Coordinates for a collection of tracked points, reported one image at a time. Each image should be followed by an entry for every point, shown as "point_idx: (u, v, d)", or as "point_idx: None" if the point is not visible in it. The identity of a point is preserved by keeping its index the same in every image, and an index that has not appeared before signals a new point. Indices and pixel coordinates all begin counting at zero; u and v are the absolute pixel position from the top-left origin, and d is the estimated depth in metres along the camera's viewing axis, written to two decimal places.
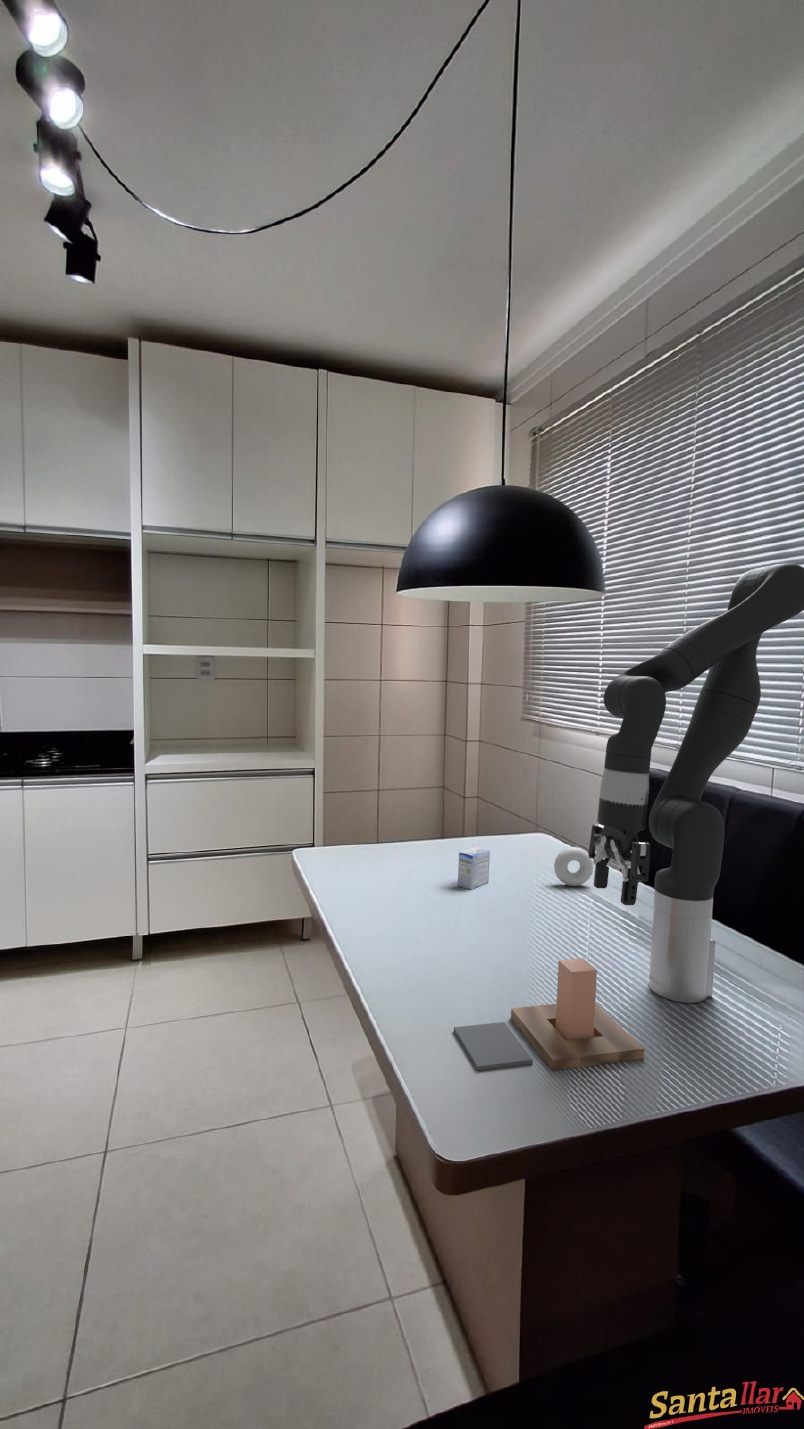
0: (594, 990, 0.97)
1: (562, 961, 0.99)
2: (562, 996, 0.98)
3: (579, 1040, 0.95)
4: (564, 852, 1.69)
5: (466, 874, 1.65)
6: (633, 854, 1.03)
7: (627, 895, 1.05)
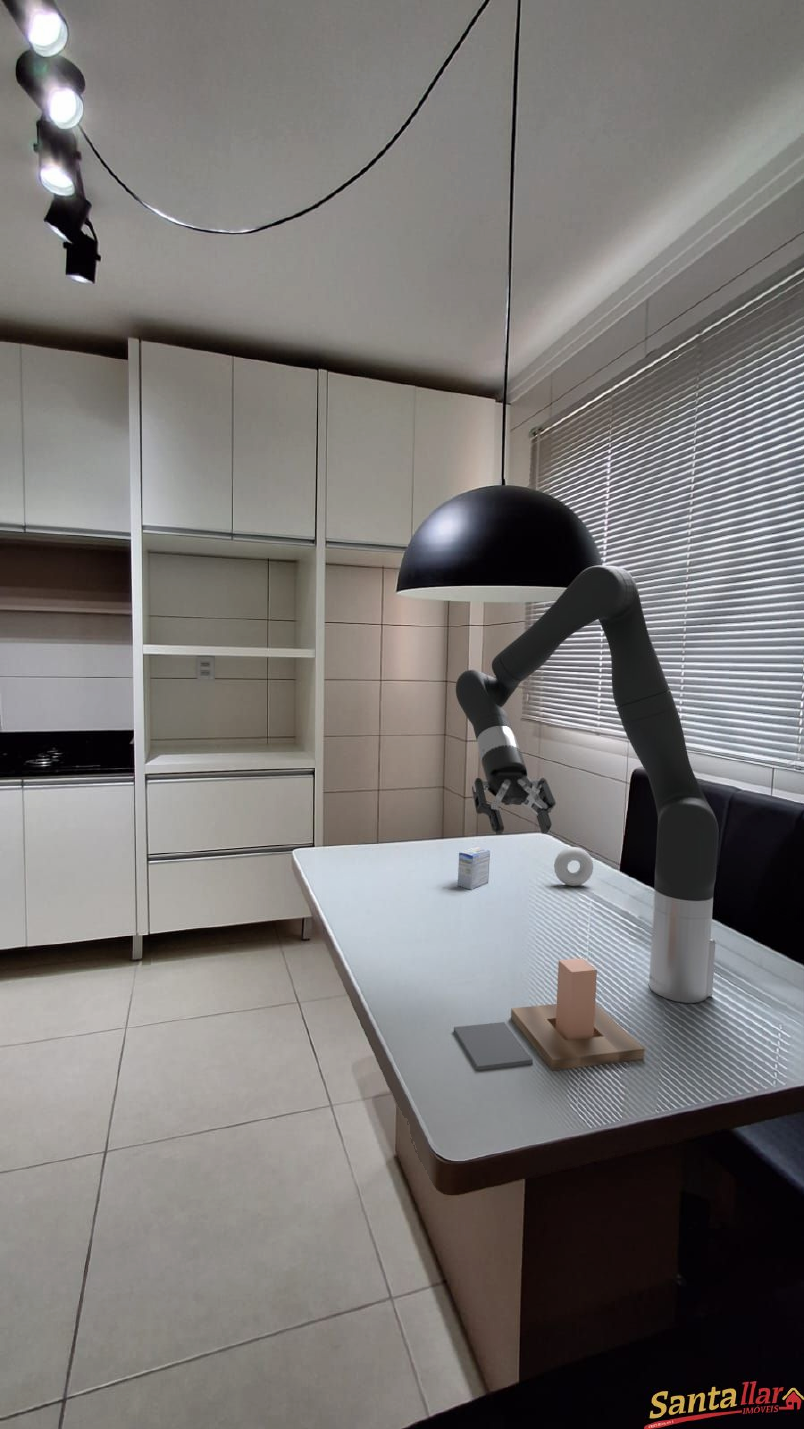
0: (594, 990, 0.97)
1: (562, 961, 0.99)
2: (562, 996, 0.98)
3: (579, 1040, 0.95)
4: (564, 852, 1.69)
5: (466, 874, 1.65)
6: None
7: None
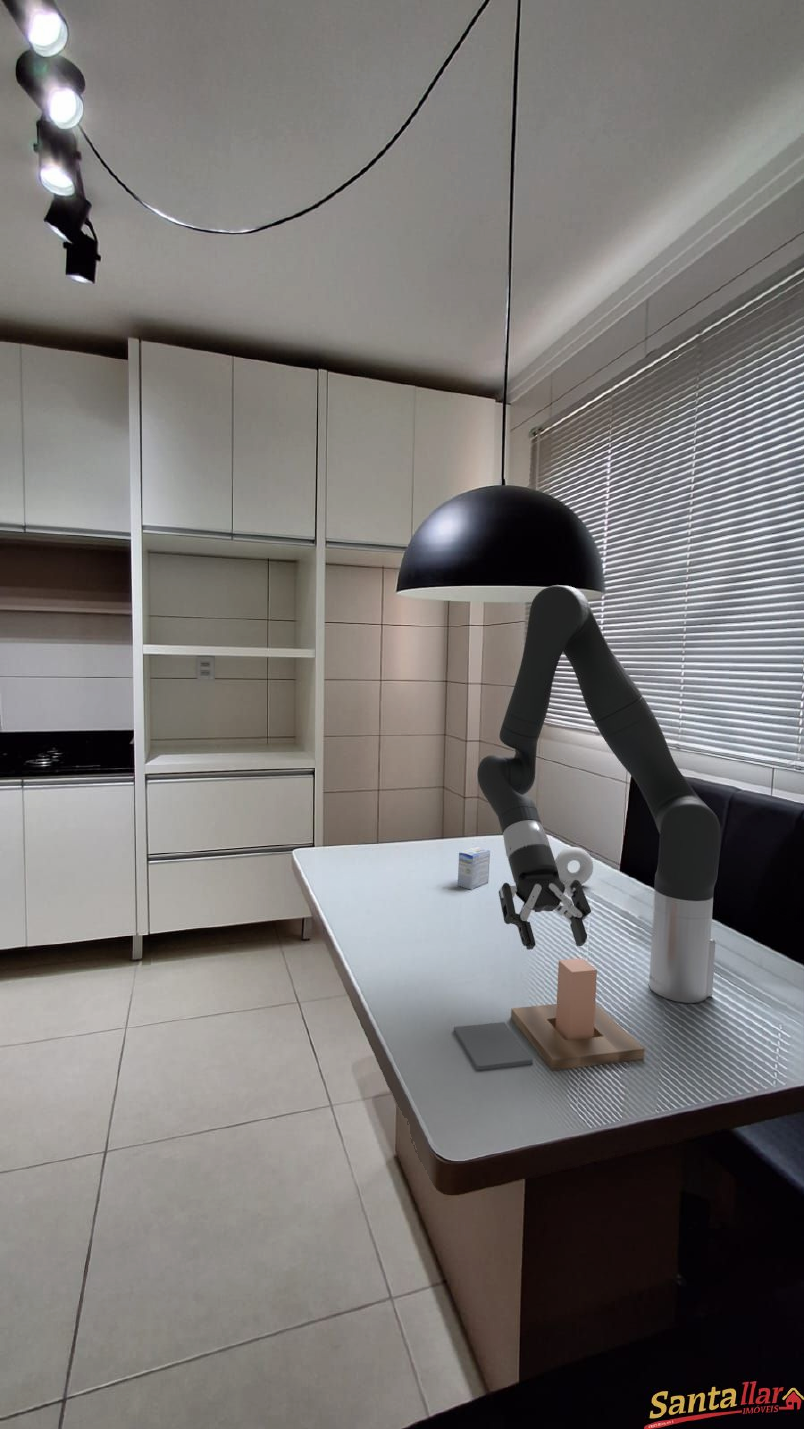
0: (594, 990, 0.97)
1: (562, 961, 0.99)
2: (562, 996, 0.98)
3: (579, 1040, 0.95)
4: (564, 852, 1.69)
5: (466, 874, 1.65)
6: None
7: None
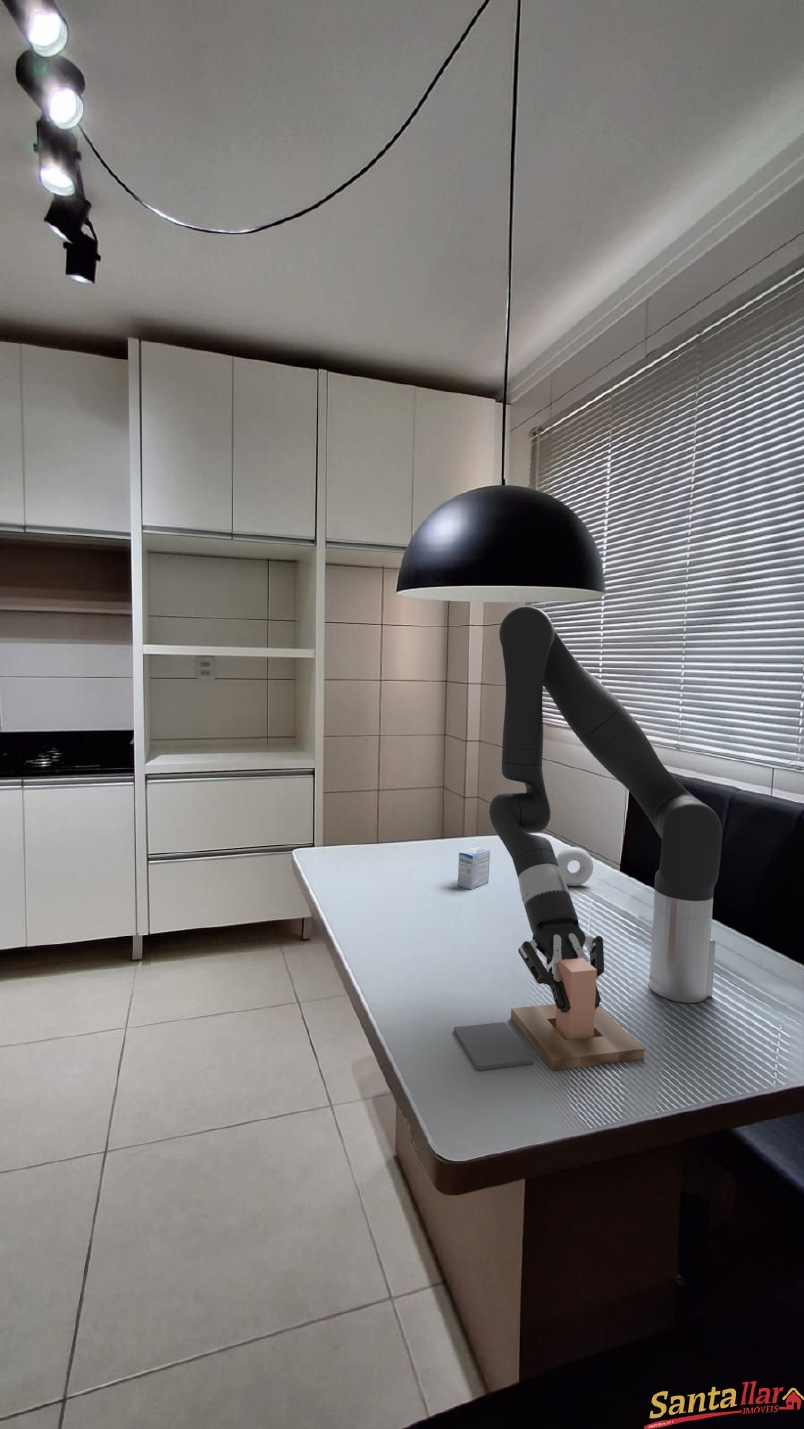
0: (594, 990, 0.97)
1: (562, 961, 0.99)
2: None
3: (579, 1040, 0.95)
4: (564, 852, 1.69)
5: (466, 874, 1.65)
6: None
7: None
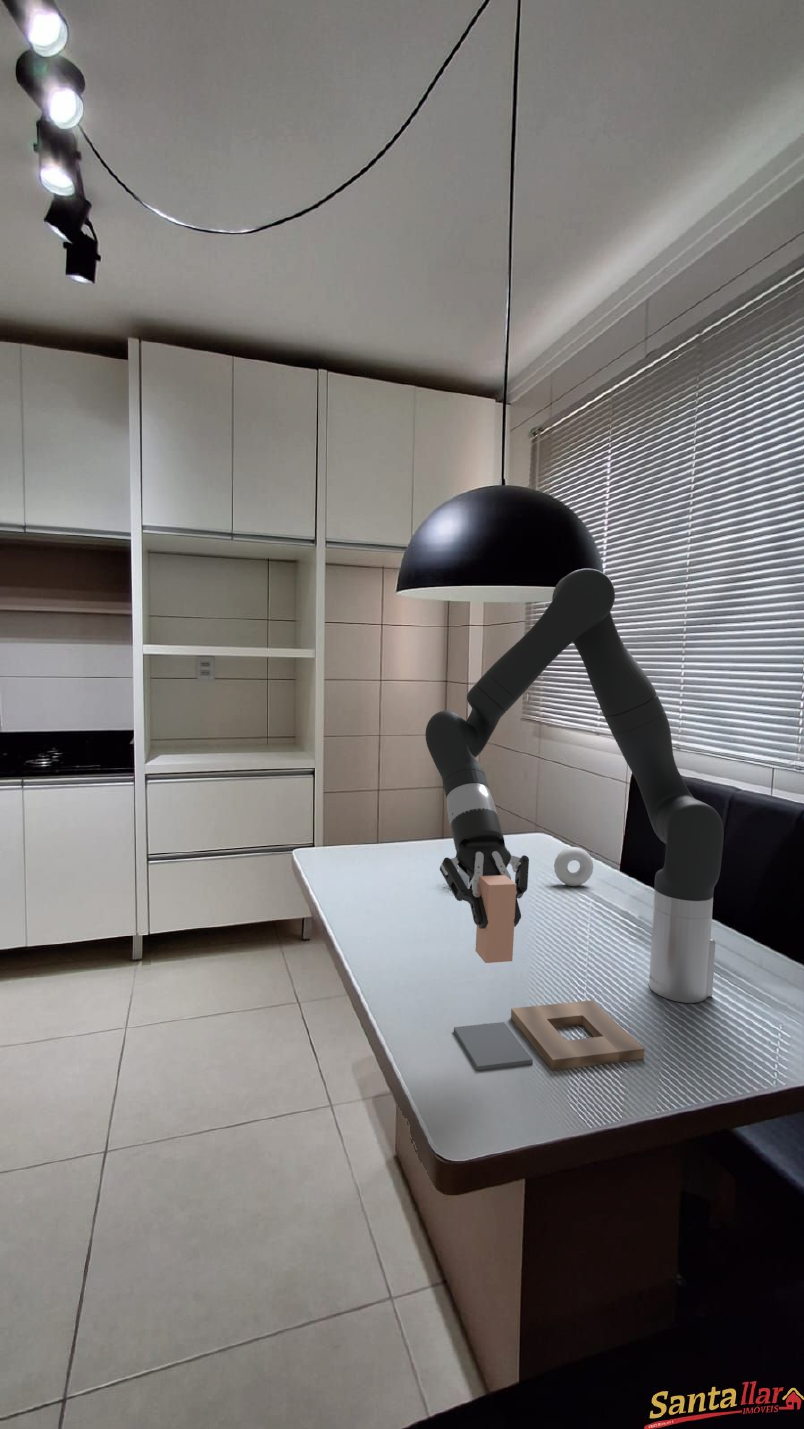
0: (513, 905, 0.93)
1: (482, 877, 0.95)
2: None
3: (579, 1040, 0.95)
4: (564, 852, 1.68)
5: (466, 874, 1.65)
6: None
7: None
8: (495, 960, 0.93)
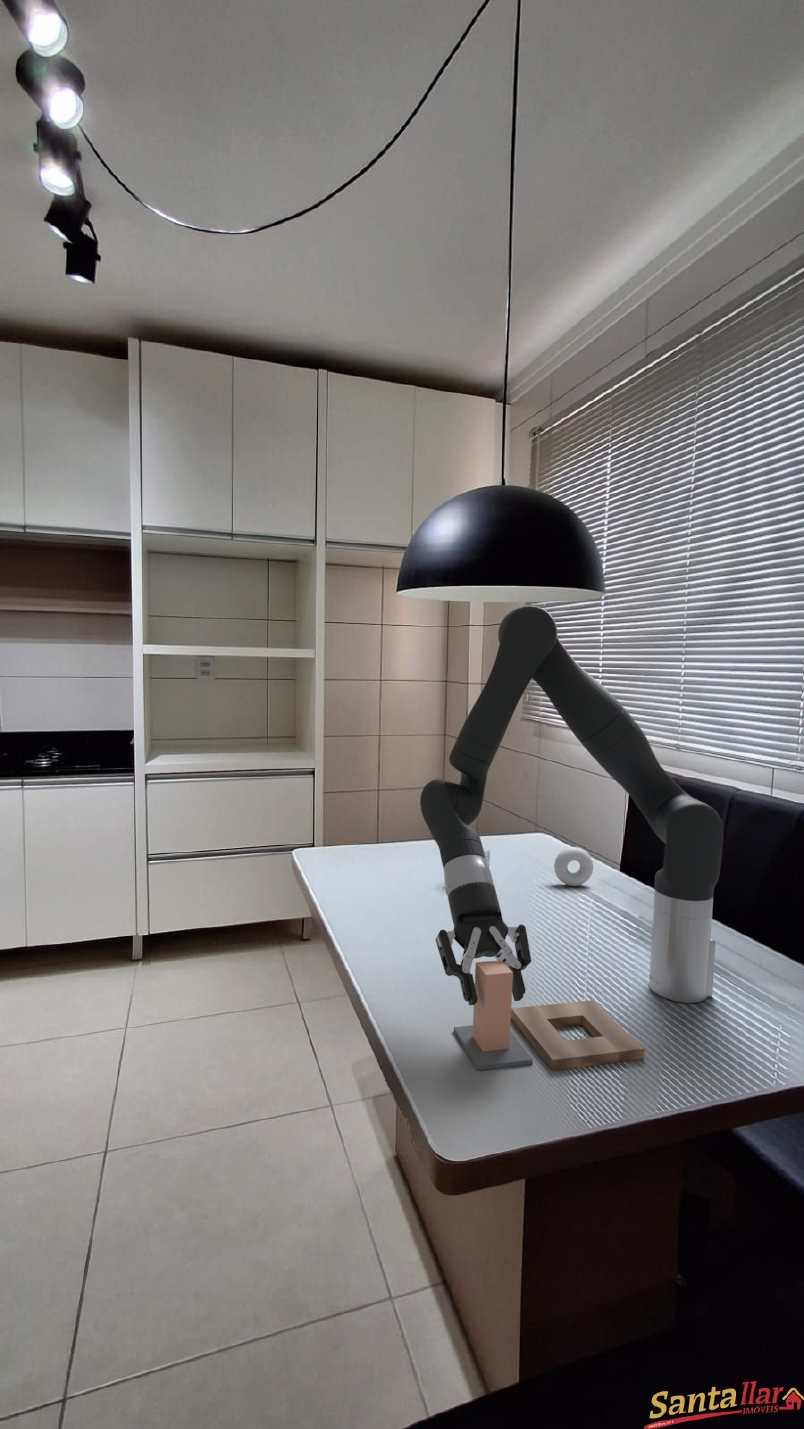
0: (510, 993, 0.93)
1: (479, 963, 0.96)
2: (478, 1000, 0.95)
3: (579, 1040, 0.95)
4: (564, 852, 1.69)
5: None
6: None
7: None
8: (492, 1048, 0.93)
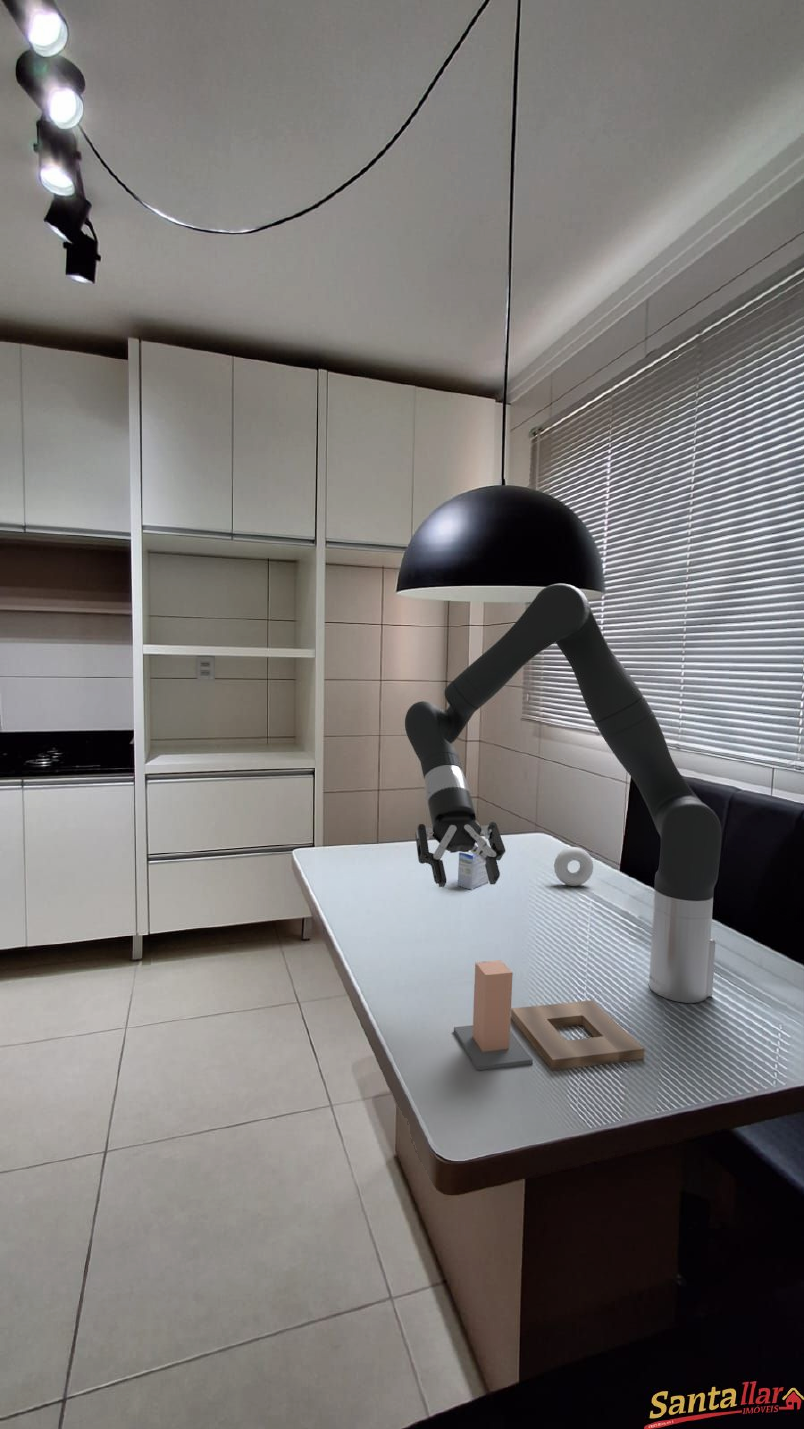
0: (510, 993, 0.93)
1: (479, 963, 0.96)
2: (478, 1000, 0.95)
3: (579, 1040, 0.95)
4: (564, 852, 1.69)
5: (466, 874, 1.65)
6: None
7: None
8: (492, 1048, 0.93)
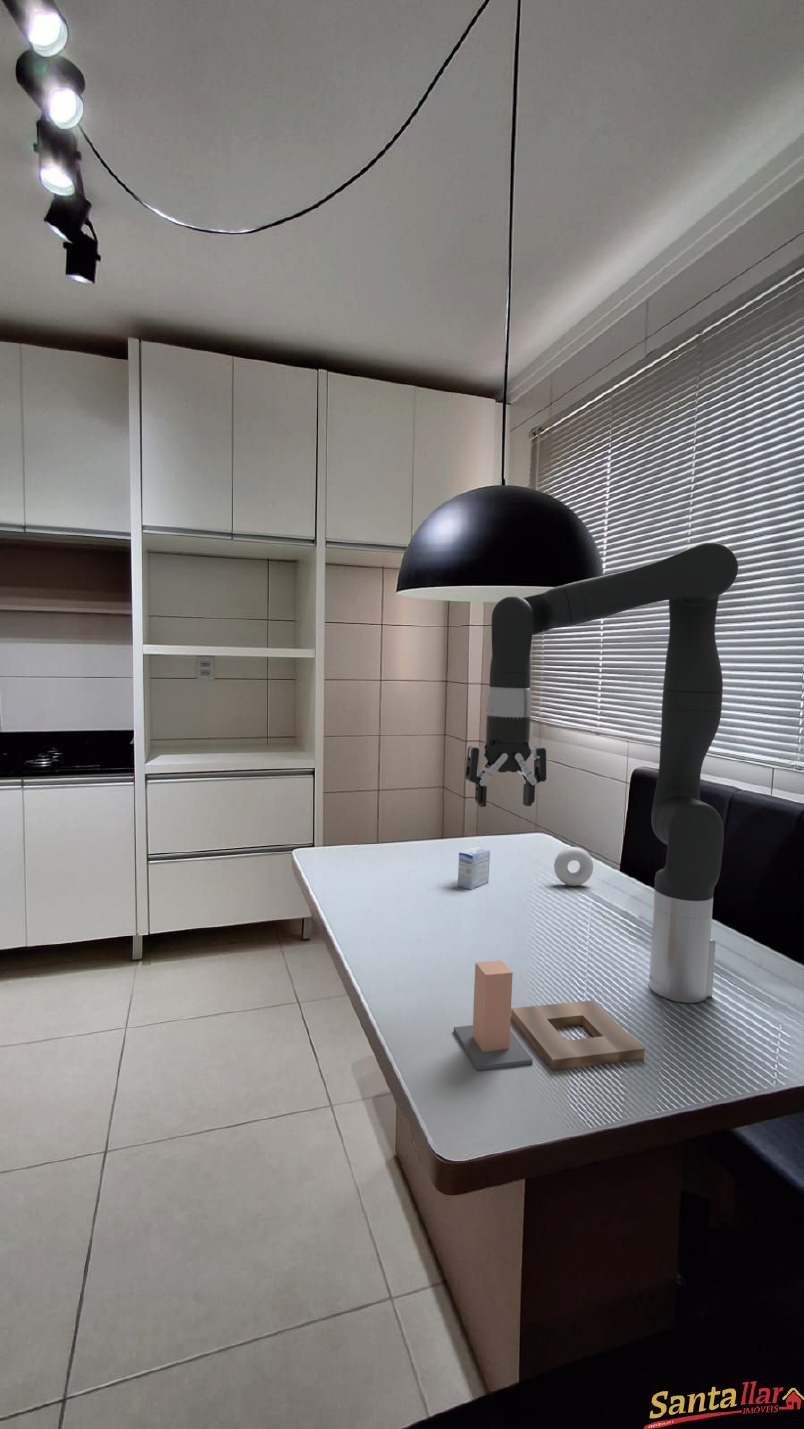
0: (510, 993, 0.93)
1: (479, 963, 0.96)
2: (478, 1000, 0.95)
3: (579, 1040, 0.95)
4: (564, 852, 1.69)
5: (466, 874, 1.65)
6: None
7: None
8: (492, 1048, 0.93)
